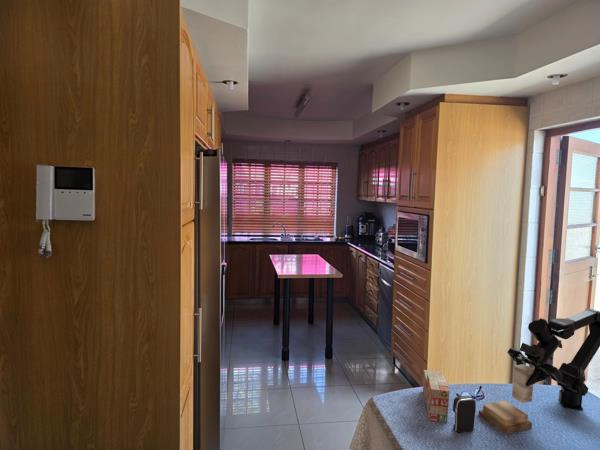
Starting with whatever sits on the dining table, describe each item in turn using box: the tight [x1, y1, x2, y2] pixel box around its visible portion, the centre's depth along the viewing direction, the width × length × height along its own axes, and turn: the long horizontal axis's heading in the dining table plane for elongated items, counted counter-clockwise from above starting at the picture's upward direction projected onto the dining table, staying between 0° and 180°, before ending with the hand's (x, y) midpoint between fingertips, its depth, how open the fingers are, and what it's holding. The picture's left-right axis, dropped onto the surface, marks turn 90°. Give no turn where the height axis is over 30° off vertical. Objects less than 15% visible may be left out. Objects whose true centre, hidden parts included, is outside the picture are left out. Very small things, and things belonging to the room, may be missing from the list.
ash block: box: [511, 364, 535, 404], centre depth 142 cm, size 4×4×12 cm
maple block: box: [482, 399, 529, 427], centre depth 141 cm, size 10×10×2 cm
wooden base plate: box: [478, 409, 533, 435], centre depth 141 cm, size 12×12×2 cm
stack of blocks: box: [422, 369, 450, 424], centre depth 149 cm, size 21×6×12 cm, turn 169°
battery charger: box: [452, 395, 477, 433], centre depth 135 cm, size 7×4×11 cm, turn 103°
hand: (520, 382), depth 142 cm, fingers closed on ash block, 4 cm apart
